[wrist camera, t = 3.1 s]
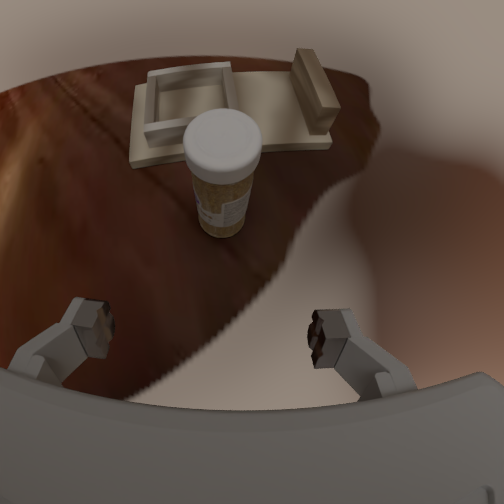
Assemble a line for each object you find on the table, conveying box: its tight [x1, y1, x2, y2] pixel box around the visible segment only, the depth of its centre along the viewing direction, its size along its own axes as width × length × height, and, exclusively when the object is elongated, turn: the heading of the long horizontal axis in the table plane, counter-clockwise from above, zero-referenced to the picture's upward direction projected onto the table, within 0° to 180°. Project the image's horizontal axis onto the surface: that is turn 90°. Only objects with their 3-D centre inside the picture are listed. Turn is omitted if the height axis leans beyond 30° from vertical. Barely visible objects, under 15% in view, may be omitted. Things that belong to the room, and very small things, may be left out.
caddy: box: [129, 48, 341, 169], centre depth 28 cm, size 22×12×6 cm, turn 99°
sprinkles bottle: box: [183, 108, 263, 238], centre depth 21 cm, size 5×5×14 cm
